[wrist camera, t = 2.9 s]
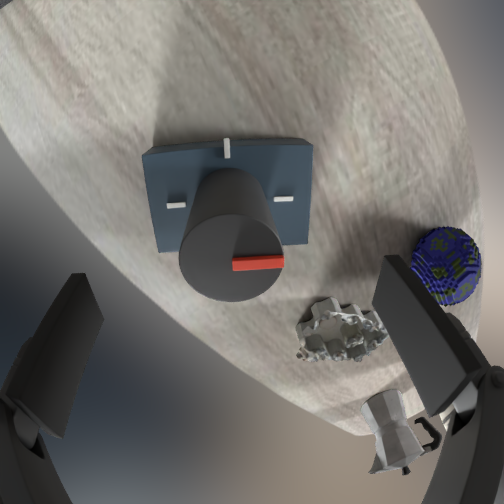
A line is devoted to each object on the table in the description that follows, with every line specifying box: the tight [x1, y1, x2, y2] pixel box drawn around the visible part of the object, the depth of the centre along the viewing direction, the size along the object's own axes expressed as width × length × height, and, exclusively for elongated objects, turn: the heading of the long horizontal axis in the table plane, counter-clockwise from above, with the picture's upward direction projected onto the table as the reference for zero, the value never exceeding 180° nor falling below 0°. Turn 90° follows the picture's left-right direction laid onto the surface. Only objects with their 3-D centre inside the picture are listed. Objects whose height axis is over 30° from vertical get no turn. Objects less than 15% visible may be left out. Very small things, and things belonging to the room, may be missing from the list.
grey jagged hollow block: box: [296, 297, 390, 362], centre depth 31 cm, size 11×8×4 cm
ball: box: [410, 226, 482, 307], centre depth 24 cm, size 8×8×8 cm
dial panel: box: [142, 138, 313, 253], centre depth 21 cm, size 12×9×3 cm
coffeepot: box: [360, 389, 442, 475], centre depth 39 cm, size 15×9×18 cm, turn 109°
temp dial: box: [179, 168, 284, 302], centre depth 17 cm, size 5×5×8 cm
